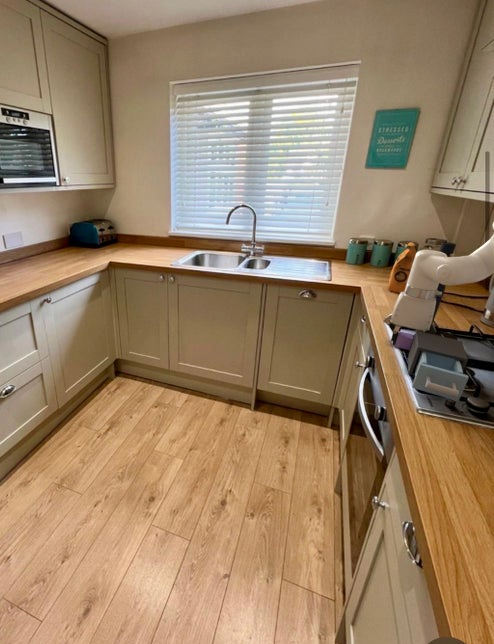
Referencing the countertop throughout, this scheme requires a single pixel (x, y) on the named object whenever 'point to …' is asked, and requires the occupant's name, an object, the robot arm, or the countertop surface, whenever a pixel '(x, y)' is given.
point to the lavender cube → (404, 340)
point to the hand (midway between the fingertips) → (402, 345)
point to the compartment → (435, 349)
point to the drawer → (439, 376)
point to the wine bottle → (447, 249)
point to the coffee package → (402, 269)
